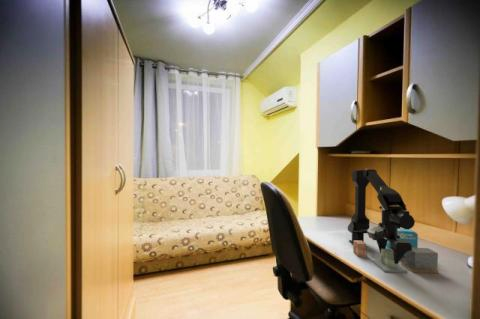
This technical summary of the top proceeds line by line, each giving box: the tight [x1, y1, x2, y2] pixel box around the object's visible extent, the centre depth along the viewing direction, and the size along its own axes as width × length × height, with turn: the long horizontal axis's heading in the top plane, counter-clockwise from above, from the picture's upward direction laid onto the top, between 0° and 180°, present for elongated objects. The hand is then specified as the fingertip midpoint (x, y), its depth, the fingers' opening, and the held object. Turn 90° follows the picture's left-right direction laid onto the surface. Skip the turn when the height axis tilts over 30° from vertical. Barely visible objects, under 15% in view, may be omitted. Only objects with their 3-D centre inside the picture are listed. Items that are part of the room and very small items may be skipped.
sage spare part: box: [380, 249, 397, 267], centre depth 95 cm, size 4×4×6 cm
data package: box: [385, 227, 419, 258], centre depth 108 cm, size 12×4×12 cm, turn 77°
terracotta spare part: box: [352, 240, 367, 257], centre depth 107 cm, size 4×4×6 cm
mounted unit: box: [400, 247, 440, 274], centre depth 94 cm, size 7×10×8 cm
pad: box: [371, 259, 408, 274], centre depth 95 cm, size 9×9×1 cm
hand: (388, 258), depth 95 cm, fingers open, 9 cm apart
